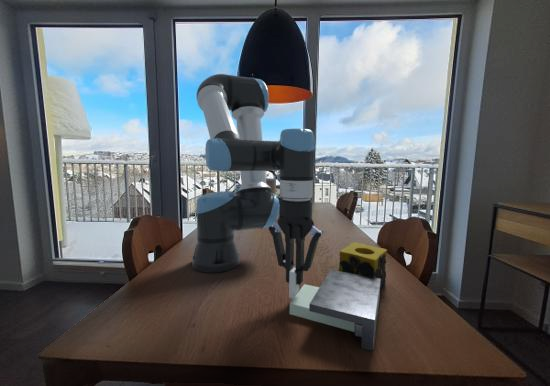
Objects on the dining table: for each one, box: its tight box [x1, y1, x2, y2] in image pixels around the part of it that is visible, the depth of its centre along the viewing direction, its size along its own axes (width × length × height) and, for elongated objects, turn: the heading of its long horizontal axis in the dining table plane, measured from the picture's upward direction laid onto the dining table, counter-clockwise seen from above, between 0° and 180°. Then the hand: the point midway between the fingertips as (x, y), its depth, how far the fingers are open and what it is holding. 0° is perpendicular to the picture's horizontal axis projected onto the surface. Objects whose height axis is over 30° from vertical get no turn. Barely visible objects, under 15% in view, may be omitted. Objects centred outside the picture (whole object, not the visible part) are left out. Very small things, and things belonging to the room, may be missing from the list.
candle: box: [338, 241, 388, 289], centre depth 72 cm, size 10×10×10 cm
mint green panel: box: [289, 284, 356, 333], centre depth 59 cm, size 14×10×3 cm
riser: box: [309, 269, 381, 352], centre depth 57 cm, size 12×18×6 cm, turn 155°
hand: (294, 295), depth 63 cm, fingers closed
